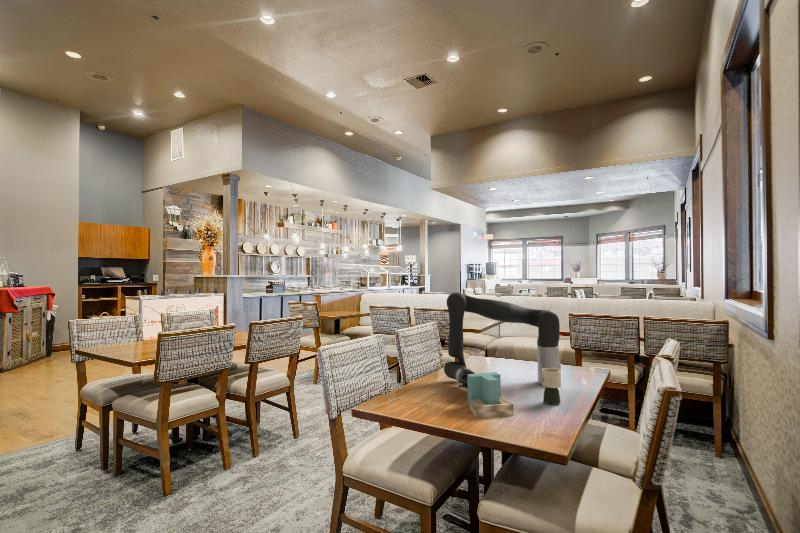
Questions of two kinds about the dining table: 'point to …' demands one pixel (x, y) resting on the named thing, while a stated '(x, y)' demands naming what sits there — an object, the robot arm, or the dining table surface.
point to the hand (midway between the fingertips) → (480, 388)
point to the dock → (491, 408)
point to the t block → (484, 387)
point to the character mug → (551, 385)
